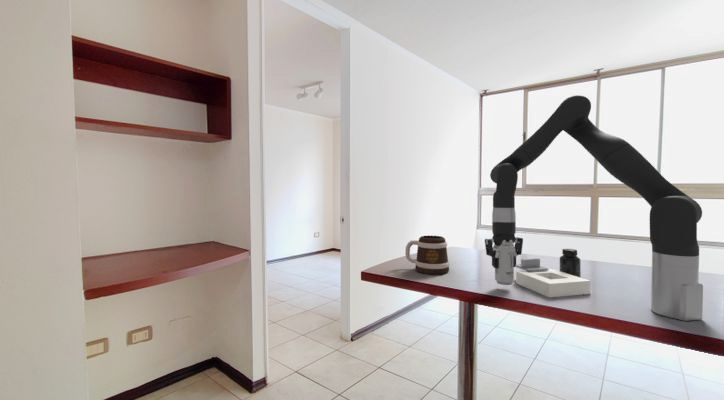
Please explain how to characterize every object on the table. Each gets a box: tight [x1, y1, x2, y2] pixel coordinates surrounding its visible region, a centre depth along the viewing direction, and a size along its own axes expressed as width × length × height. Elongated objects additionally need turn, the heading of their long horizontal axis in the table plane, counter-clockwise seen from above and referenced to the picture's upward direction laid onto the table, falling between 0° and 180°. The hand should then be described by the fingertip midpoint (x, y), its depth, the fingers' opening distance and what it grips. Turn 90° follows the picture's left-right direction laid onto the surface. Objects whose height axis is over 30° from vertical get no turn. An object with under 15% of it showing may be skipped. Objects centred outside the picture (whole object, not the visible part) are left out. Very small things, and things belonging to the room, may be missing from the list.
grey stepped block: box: [514, 257, 549, 272], centre depth 119 cm, size 8×8×4 cm
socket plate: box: [515, 268, 591, 298], centre depth 110 cm, size 16×16×4 cm
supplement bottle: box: [559, 248, 582, 278], centre depth 119 cm, size 7×7×12 cm
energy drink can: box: [494, 242, 515, 286], centre depth 109 cm, size 6×6×15 cm
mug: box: [404, 235, 451, 276], centre depth 137 cm, size 20×15×15 cm
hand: (504, 267), depth 109 cm, fingers closed on energy drink can, 6 cm apart
